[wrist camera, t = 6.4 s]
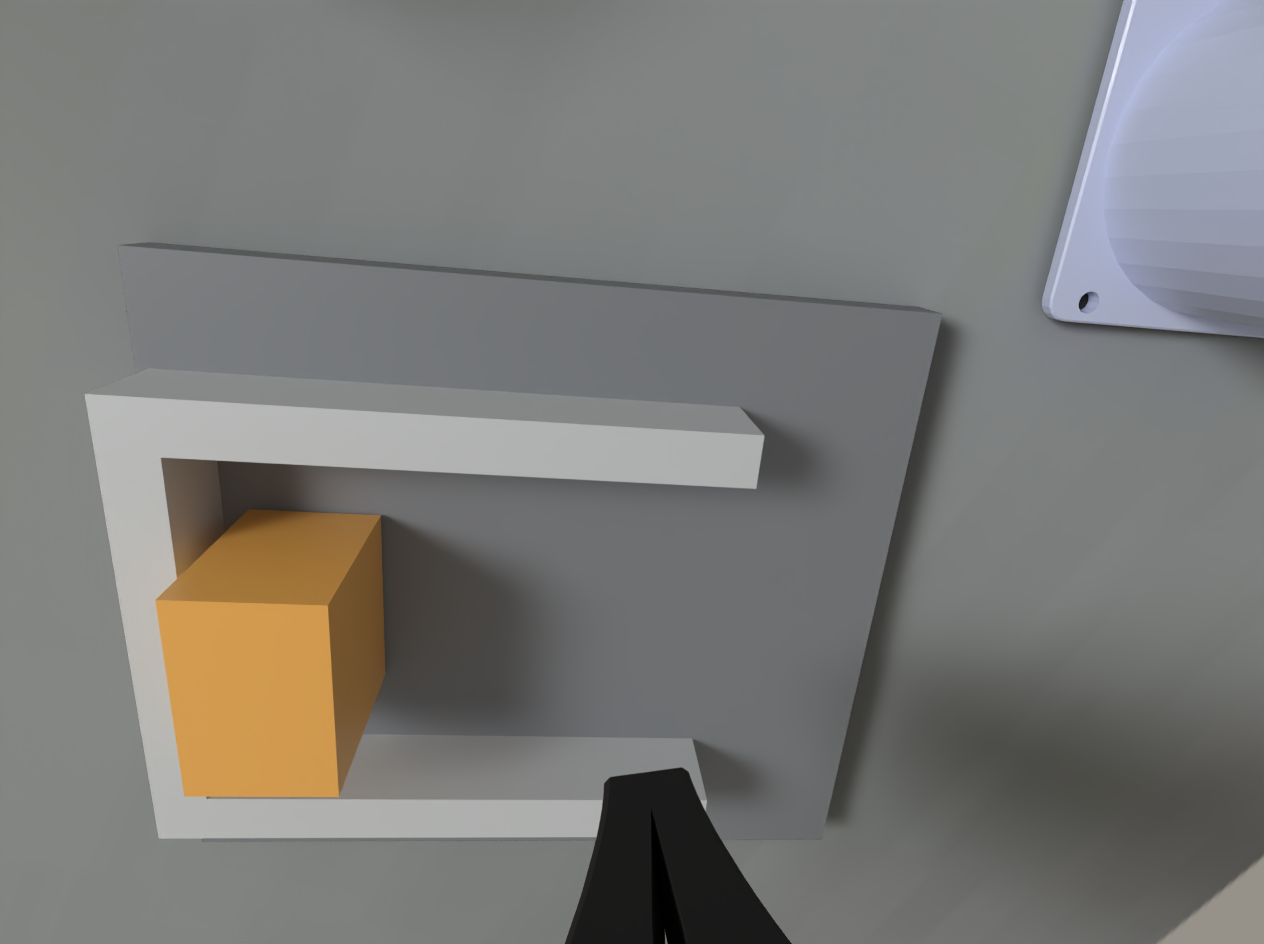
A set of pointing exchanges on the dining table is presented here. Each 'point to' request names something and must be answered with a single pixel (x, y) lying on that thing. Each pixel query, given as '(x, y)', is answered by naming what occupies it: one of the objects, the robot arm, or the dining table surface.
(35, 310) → the dining table surface
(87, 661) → the dining table surface
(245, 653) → the block
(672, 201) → the dining table surface
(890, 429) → the grey tray
